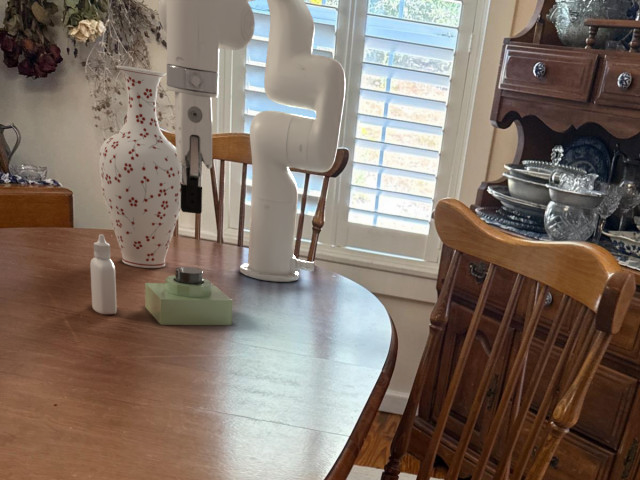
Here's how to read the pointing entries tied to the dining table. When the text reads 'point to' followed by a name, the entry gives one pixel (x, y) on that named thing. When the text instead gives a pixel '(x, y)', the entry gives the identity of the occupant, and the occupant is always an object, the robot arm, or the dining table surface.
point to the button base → (188, 303)
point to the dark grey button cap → (188, 275)
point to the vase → (141, 176)
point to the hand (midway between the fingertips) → (191, 211)
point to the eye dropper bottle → (103, 278)
